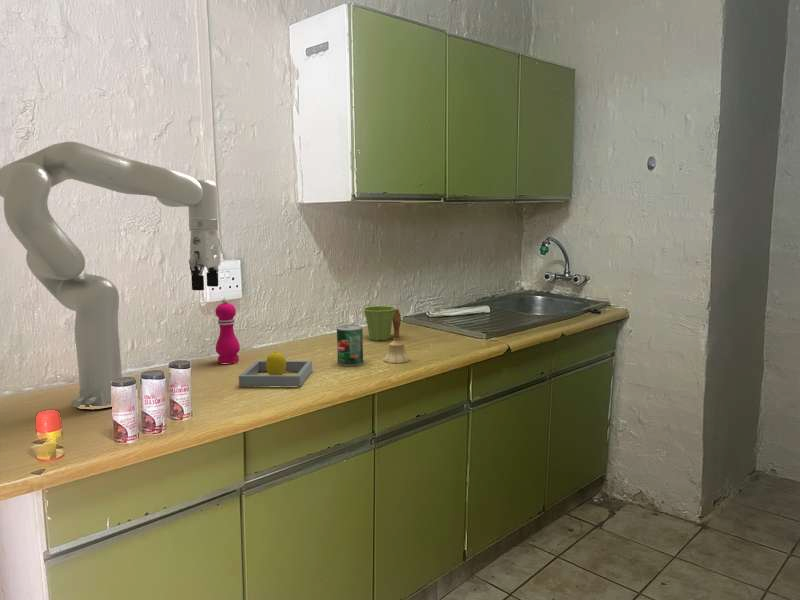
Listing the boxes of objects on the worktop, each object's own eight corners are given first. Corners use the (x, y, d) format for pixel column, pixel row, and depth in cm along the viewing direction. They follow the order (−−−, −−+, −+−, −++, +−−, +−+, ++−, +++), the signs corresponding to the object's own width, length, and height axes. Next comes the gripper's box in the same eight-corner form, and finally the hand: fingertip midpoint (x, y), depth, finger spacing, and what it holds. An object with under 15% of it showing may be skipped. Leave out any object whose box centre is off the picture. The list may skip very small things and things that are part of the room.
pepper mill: (216, 365, 186) (212, 300, 183) (216, 360, 193) (212, 297, 190) (240, 363, 188) (237, 299, 185) (240, 358, 195) (237, 295, 192)
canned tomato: (368, 361, 189) (367, 326, 188) (353, 367, 183) (352, 330, 181) (347, 358, 193) (346, 323, 192) (332, 363, 187) (331, 328, 185)
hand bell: (389, 356, 195) (389, 306, 193) (414, 358, 192) (413, 308, 190) (378, 362, 188) (378, 310, 185) (404, 364, 185) (403, 312, 182)
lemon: (277, 375, 175) (276, 347, 174) (290, 378, 171) (289, 350, 170) (262, 379, 171) (260, 351, 169) (275, 382, 167) (274, 354, 166)
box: (300, 387, 163) (299, 376, 162) (239, 387, 164) (238, 376, 163) (312, 370, 179) (312, 360, 178) (256, 370, 180) (256, 360, 179)
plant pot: (399, 336, 224) (399, 305, 223) (391, 343, 213) (390, 311, 211) (368, 335, 227) (368, 305, 226) (358, 341, 216) (358, 310, 214)
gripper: (203, 226, 159) (205, 292, 161) (228, 225, 176) (230, 285, 178) (175, 226, 160) (178, 291, 162) (203, 225, 177) (205, 284, 179)
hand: (205, 288), depth 170 cm, fingers open, 9 cm apart
